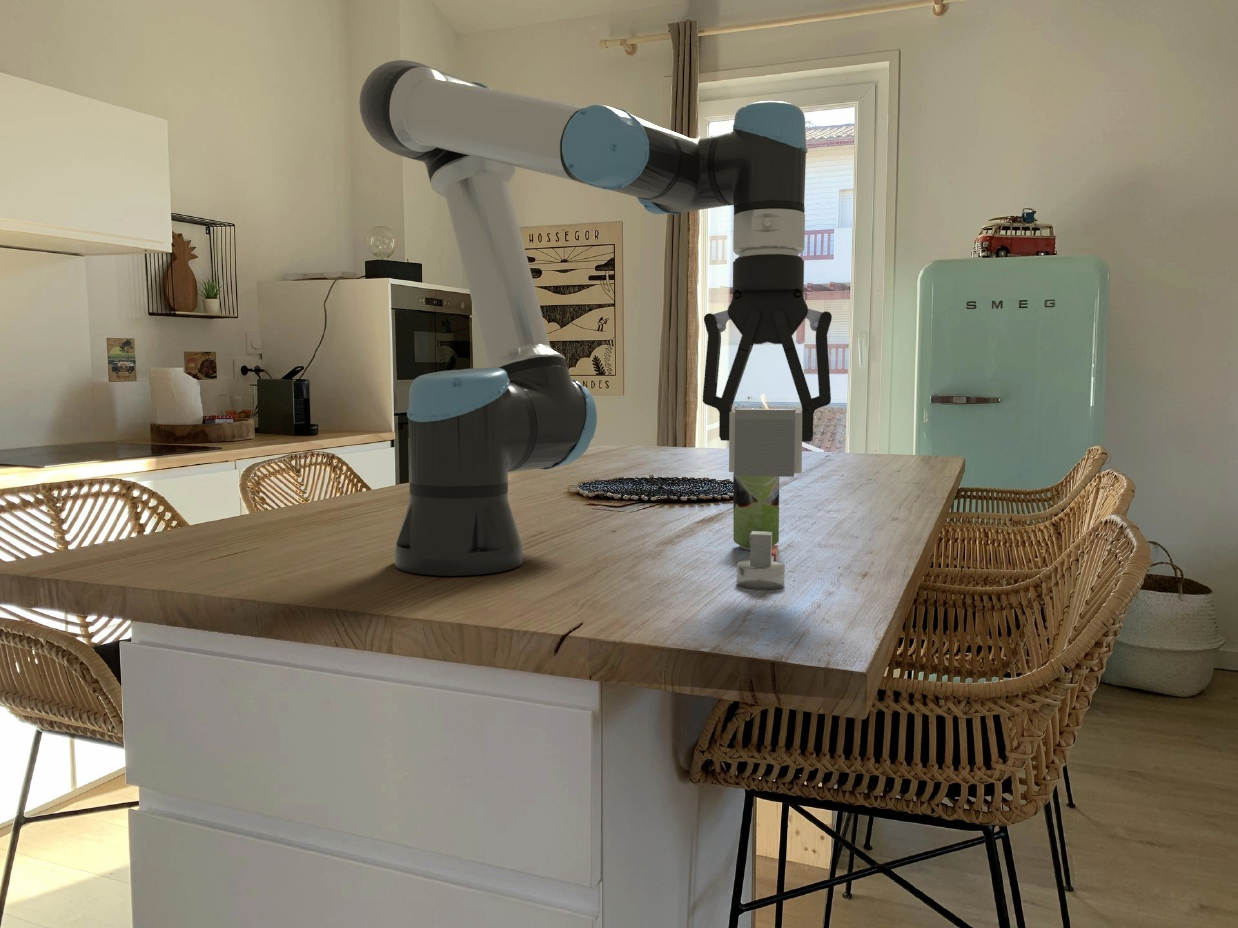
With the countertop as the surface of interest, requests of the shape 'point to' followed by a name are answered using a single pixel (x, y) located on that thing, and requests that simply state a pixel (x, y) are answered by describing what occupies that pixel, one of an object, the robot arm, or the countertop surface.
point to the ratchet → (761, 564)
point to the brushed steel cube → (764, 442)
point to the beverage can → (755, 507)
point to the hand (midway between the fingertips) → (765, 471)
